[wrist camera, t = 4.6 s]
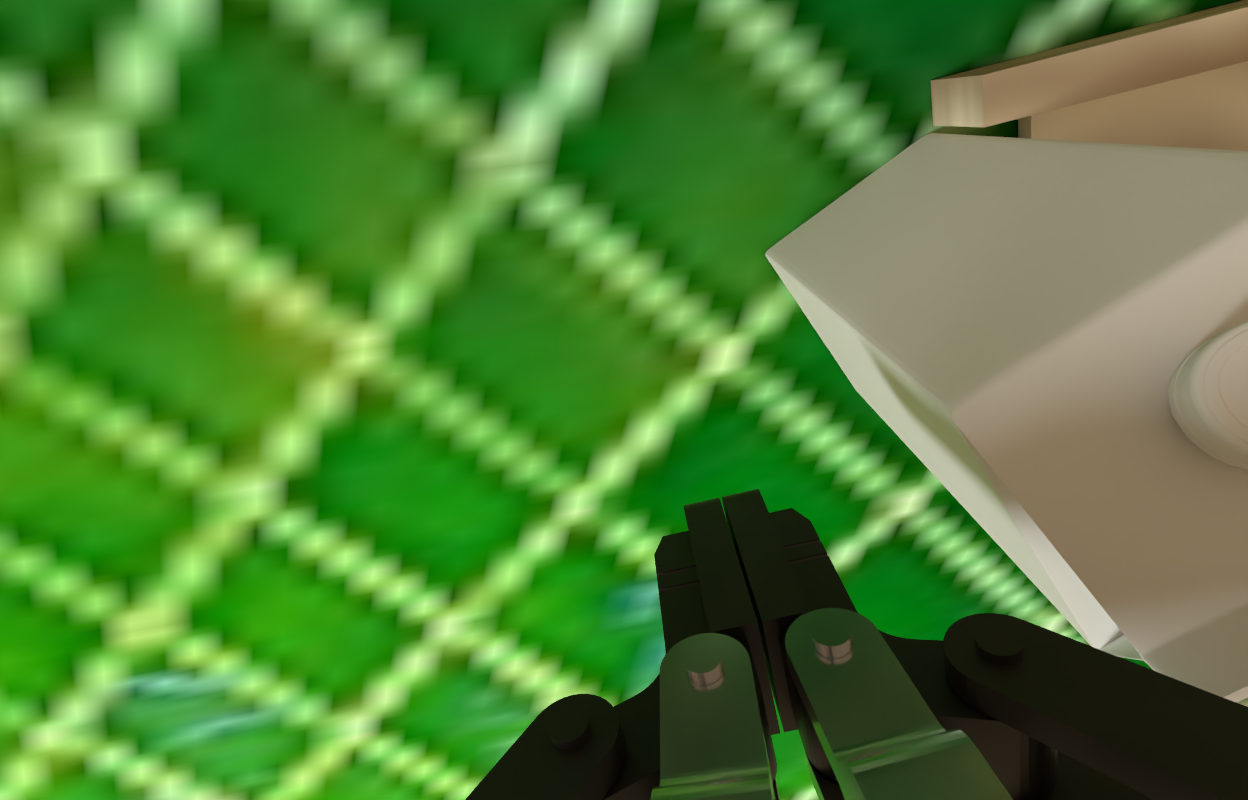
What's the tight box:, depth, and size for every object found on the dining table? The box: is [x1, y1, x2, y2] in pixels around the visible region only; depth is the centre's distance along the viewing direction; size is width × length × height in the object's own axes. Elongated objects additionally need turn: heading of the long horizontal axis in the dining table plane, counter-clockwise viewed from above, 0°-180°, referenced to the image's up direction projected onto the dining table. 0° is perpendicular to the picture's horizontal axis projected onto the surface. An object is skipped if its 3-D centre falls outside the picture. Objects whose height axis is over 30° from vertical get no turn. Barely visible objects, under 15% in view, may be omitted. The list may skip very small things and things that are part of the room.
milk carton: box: [765, 133, 1248, 703], centre depth 17 cm, size 7×7×19 cm
